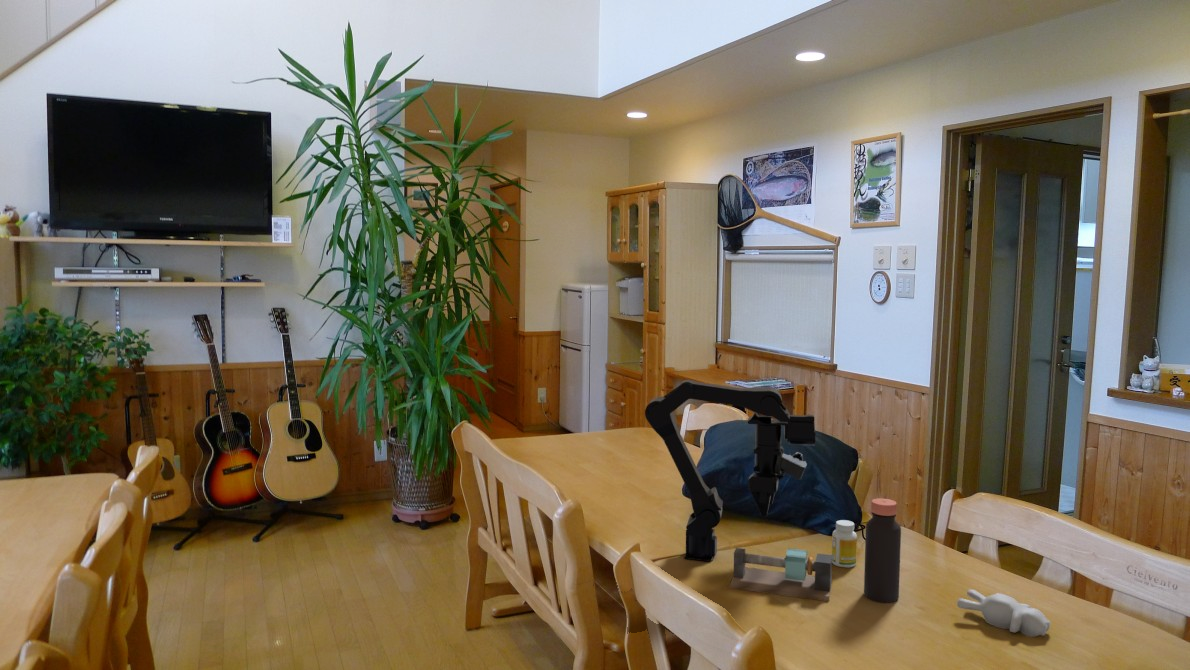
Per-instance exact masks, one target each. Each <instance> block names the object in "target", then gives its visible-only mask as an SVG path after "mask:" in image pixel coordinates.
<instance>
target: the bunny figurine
mask: <svg viewBox="0 0 1190 670" xmlns="http://www.w3.org/2000/svg"><path fill="white" fill-rule="evenodd" d="M966 595H967V596H968V597H970V598H972V599H973V600H969V599H965V598H962V597H961V598H958V600H957V602H956V606H957V607H958V608H960V609H964V610H970V611H971V610H972V611H978V612H981V614H982V616H983V618H984V620H985V622H986V623H988V625H990V626H991V625H992V626H994V627H996V628H999V629H1003V630H1005V629H1006V630H1007V629H1008V630H1009V632H1012V633H1017V632H1020V633H1021V634H1022V635H1024V636H1027V637H1031V638H1036V637H1037V636H1043V637H1045V635H1046V634H1047V632H1048V631H1049V630H1050V626H1051V620H1049V619H1048V618H1046V616H1045V615H1044V613H1043V612H1042V611H1040V610H1039V609H1037V608H1034V607H1031V605H1029V604H1027V603H1020V602H1018V601H1017V600H1016V599H1015V598H1013V597H1011V596H1009V595H1007V594H1003V593H1000V592H997V593H993V594H991V595H988V596H985V595H983V594H982V593H980V592H978V591H977V590H975V589H968V590H967V591H966ZM974 600H975V601H974Z"/></svg>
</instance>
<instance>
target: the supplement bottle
mask: <svg viewBox="0 0 1190 670" xmlns="http://www.w3.org/2000/svg"><path fill="white" fill-rule="evenodd" d="M854 530H855V523H854V522H853V521H851V520H848V519H847V520H846V519H840V520H837V521H835V529H834V530H833V531H832V534H831V535H832V540H831V555H832V564H833V565H835V566H837V567H839V568H847V569H848V568H853V567H855V566H856V564H857V553H858V552H857V549H858V548H857V547H858V546H857V545H858V535H857V533H856V532H855V531H854Z"/></svg>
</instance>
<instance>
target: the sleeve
mask: <svg viewBox="0 0 1190 670" xmlns="http://www.w3.org/2000/svg"><path fill="white" fill-rule="evenodd" d="M784 558H785V568H784V572H785V578H786V579H794V580H802V581H805V578H806V575H807V574H808V573H807V570H805V564H806V561H808V550H806V549H799V548H798V549H796V548H790V547H789V548H787V550H786V553H785V557H784Z"/></svg>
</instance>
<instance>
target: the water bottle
mask: <svg viewBox="0 0 1190 670" xmlns="http://www.w3.org/2000/svg"><path fill="white" fill-rule="evenodd" d="M870 504H871V505H870V508H871V509H870V511H871V515H872V518H870V519H869V520H868V521H867V522H866V523H865V538H864V539H865V542H864V543H865V544H864V545H865V547H864V548H865V549H864V575H863V577H864V578H863V594H864V596H865V597H866V598H867V599H869V600H871V601H873V602H878V603H884V604H885V603H888V604H889V603H894V602H896V601H898V599H899V597H900V576H901V575H900V574H901V573H900V571H901V568H900V567H901V543H902V542H901V539H902V528H901V525H900V524H899V523H898V522H897V520H896V517H897V513H898V512H897V511H898V508H897V507H898V503H897V502H896V501H895V500H893V499H889V498H880V497H879V498H873V499H871V501H870Z"/></svg>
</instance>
